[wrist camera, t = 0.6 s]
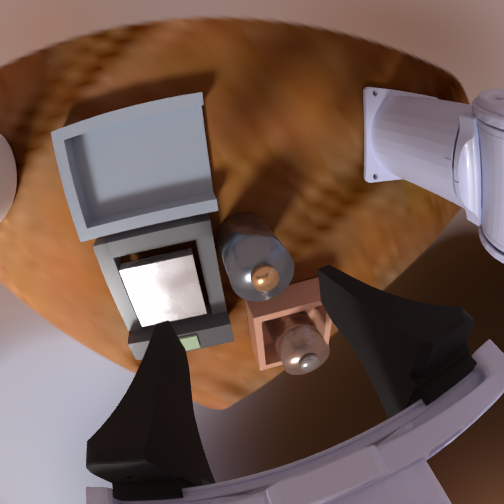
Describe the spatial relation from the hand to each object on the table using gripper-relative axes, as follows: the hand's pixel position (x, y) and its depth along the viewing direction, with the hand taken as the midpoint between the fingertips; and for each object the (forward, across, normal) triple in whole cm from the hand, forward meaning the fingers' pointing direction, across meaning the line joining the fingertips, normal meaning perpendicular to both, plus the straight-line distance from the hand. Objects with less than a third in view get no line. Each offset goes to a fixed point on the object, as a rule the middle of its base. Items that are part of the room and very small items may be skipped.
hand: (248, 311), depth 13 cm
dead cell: (+9, -3, +11) cm, 14 cm away
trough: (+9, +4, -6) cm, 12 cm away
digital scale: (+9, +5, +3) cm, 11 cm away
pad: (+8, +5, +2) cm, 10 cm away
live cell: (+9, -2, +1) cm, 10 cm away
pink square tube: (+9, -3, +11) cm, 15 cm away
